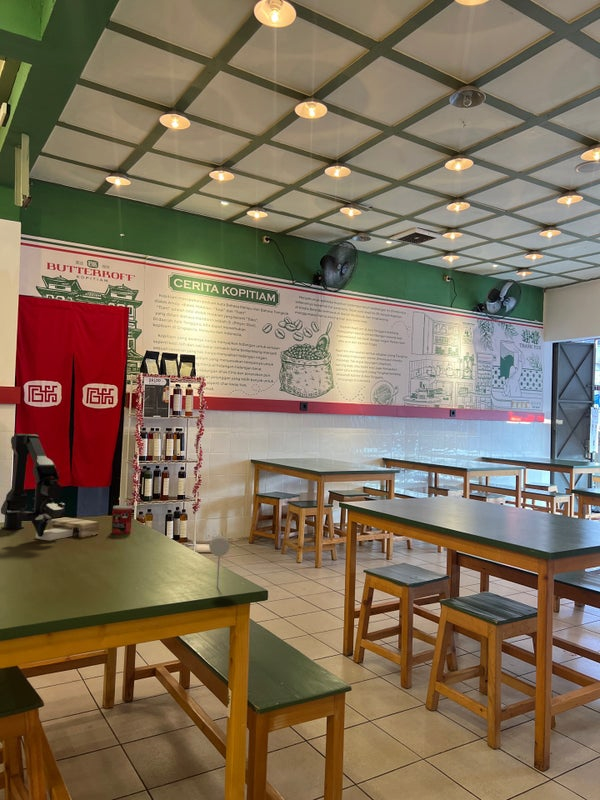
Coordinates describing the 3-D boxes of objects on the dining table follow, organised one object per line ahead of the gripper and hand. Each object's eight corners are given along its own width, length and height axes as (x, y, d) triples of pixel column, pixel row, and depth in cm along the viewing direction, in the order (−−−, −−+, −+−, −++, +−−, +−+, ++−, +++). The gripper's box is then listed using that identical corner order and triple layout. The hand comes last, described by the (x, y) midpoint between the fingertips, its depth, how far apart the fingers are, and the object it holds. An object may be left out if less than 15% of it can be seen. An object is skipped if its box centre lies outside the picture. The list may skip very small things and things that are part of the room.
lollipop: (218, 583, 181) (220, 533, 181) (231, 587, 177) (234, 536, 177) (202, 587, 176) (205, 535, 176) (216, 591, 172) (219, 539, 173)
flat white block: (35, 538, 233) (36, 531, 233) (59, 533, 244) (59, 527, 244) (49, 540, 230) (49, 533, 230) (72, 535, 241) (72, 529, 241)
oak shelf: (48, 532, 246) (49, 519, 246) (65, 529, 254) (65, 517, 254) (82, 537, 238) (83, 524, 239) (98, 534, 247) (99, 521, 247)
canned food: (107, 533, 249) (109, 506, 250) (118, 530, 257) (120, 504, 257) (123, 535, 247) (125, 508, 248) (134, 532, 255) (135, 506, 255)
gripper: (39, 499, 219) (35, 542, 219) (77, 495, 236) (74, 535, 236) (17, 497, 224) (14, 539, 223) (55, 493, 241) (53, 532, 240)
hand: (40, 536), depth 230 cm, fingers closed
